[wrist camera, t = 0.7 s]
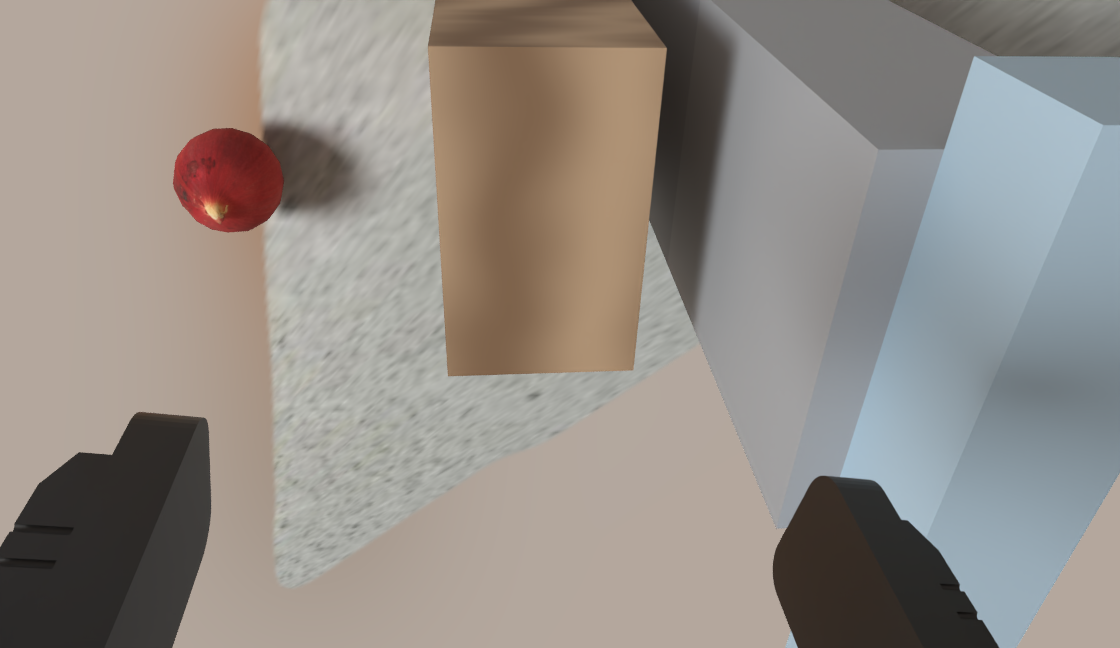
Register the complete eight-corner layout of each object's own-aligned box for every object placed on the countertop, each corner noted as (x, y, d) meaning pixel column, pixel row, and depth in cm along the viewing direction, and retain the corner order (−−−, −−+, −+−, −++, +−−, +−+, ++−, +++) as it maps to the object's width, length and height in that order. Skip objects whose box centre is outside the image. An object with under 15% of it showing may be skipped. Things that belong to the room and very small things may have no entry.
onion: (190, 185, 49) (147, 246, 43) (199, 97, 46) (154, 149, 40) (286, 208, 51) (259, 271, 44) (300, 125, 48) (273, 180, 41)
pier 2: (755, -68, 44) (1176, 148, 18) (723, 138, 51) (995, 516, 24) (631, -71, 43) (878, 149, 17) (615, 138, 50) (776, 528, 24)
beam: (1155, 57, 16) (1326, 124, 13) (881, 670, 29) (934, 784, 26) (974, 56, 16) (1103, 125, 13) (775, 678, 28) (815, 795, 25)
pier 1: (577, -72, 43) (667, 48, 23) (568, 138, 50) (633, 370, 30) (448, -75, 42) (427, 46, 23) (457, 139, 49) (447, 376, 29)
